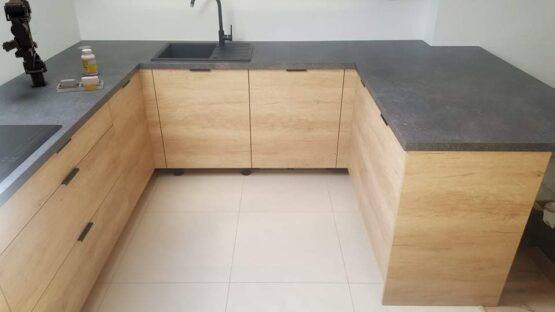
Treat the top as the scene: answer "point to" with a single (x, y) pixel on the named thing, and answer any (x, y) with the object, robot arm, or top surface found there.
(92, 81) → the white panel
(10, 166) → the top surface
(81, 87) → the rack
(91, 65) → the supplement bottle
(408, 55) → the top surface
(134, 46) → the top surface
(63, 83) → the grey filler panel
